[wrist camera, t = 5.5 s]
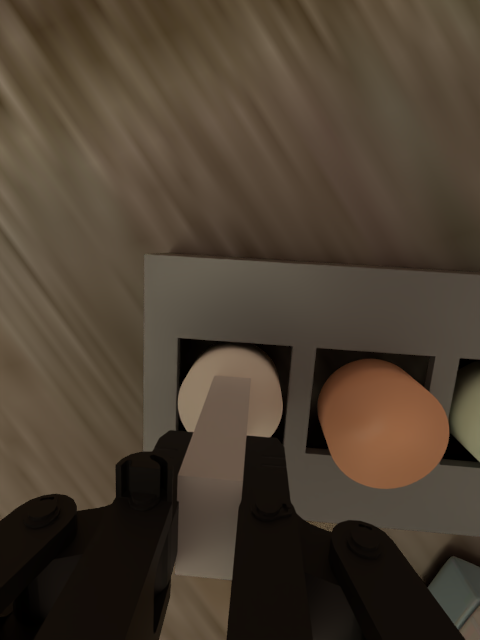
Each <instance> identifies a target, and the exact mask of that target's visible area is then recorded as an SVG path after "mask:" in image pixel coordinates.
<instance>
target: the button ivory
mask: <svg viewBox="0 0 480 640" xmlns="http://www.w3.org/2000/svg"><path fill="white" fill-rule="evenodd" d="M214 375H215V376H228V377H241V378H251V383H250V398H249V412H248V427H247V436H259V437H271V436H272V435H273V434H274V432H275V431H276V429H277V427H278V425H279V423H280V420H281V417H282V410H283V402H282V395H281V388H280V381H279V375H278V371H277V368H276V366H275V364H274V362H273V361H272V359H271V358H270V357H269V355H268V354H266V353H265V352H264V351H263V350H262V349H261V348H259V347H257V346H256V345H254V344H251V343H242V342H228V341H222V342H218V343H216V344H213V345H211V346H210V347H208V348H207V349H205V350H204V351H203V352H202V353H201V354H200V355H199V356H198V357H197V359H196V360H195V362H194V364H193V366H192V367H191V369H190V371H189V372H188V374H187V376H186V378H185V379H184V381H183V383H182V385H181V388H180V391H179V395H178V410H179V415H180V418H181V421H182V423H183V425H184V427H185V429H186V430H187V432H194V430H195V427H196V424H197V422H198V419H199V416H200V413H201V411H202V408H203V405H204V402H205V400H206V397H207V394H208V392H209V389H210V386H211V383H212V381H213V378H214Z"/></svg>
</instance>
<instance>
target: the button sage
mask: <svg viewBox="0 0 480 640" xmlns="http://www.w3.org/2000/svg"><path fill="white" fill-rule="evenodd" d="M448 423H449V432H450V433H451V434H452V435H453V436H454V437H455V438H456V439H457V440H458V441H459V442H460V443H461V444H462V445H463V446H464V447H465V448H466V449H467V450H468V451H469V452H470V453H471V454H472V455H473V456H474V457H475V458H476V459H477V460H478V461H479V462H480V360H478V361H475V362H472V363H470V364H468V365H466V366H464V367H462V368H461V369H459V370H458V371H457V376H456V381H455V386H454V392H453V397H452V402H451V407H450V413H449V418H448Z"/></svg>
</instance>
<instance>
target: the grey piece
mask: <svg viewBox="0 0 480 640" xmlns="http://www.w3.org/2000/svg"><path fill="white" fill-rule="evenodd" d="M181 338H186V339H200V340H214V341H228V342H242V343H256V344H270V345H284V346H292V348H291V359H290V370H289V381H288V392H287V403H286V414H285V425H284V436H283V446H284V448H285V457H286V465H287V467H286V468H287V474H288V483H289V491H290V500H291V503H292V504H293V506H294V508H295V511H296V513H297V514H298V515H299V516H300V517H301V518H302V519H303V520H305V521H315V522H326V523H337V524H338V523H340V522H343V521H347V520H357V521H363V522H366V523H369V524H372V525H374V526H375V527H380V528H391V529H402V530H412V531H423V532H434V533H445V534H456V535H466V536H477V537H480V462H472V461H460V460H448V459H441V460H440V462H439V463H438V464H437V466H436V467H435V468H434V469H433V470H432V471H431V472H430V473H429V474H427V475H426V476H425V477H423V478H422V479H420V480H418V481H416V482H414V483H412V484H410V485H407V486H403V487H399V488H392V489H379V488H372V487H368V486H365V485H362V484H360V483H357V482H356V481H354V480H352V479H351V478H349V477H348V476H346V475H345V474H344V473H343V472H342V471H341V470H340V469H339V467H338V466H337V465H336V463H335V462H334V460H333V458H332V456H331V453H330V451H329V449H317V448H306V441H307V432H308V422H309V413H310V403H311V394H312V384H313V375H314V365H315V356H316V348H325V349H339V350H353V351H367V352H381V353H395V354H409V355H423V356H429V362H428V368H427V374H426V380H425V385H424V388H425V389H426V390H427V391H429V392H430V393H431V394H432V395H433V396H434V397H435V398H436V399H437V400H438V401H439V403H440V404H441V405H442V407H443V409H444V411H445V413H446V416H447V419H448V418H449V413H450V407H451V402H452V397H453V392H454V386H455V381H456V376H457V371H458V365H459V360H460V358H465V359H479V360H480V272H470V271H454V270H438V269H421V268H405V267H389V266H373V265H356V264H340V263H324V262H307V261H291V260H275V259H258V258H242V257H226V256H210V255H193V254H177V253H158V254H144V378H143V452H149V451H153V449H154V447H155V445H156V443H157V441H158V439H159V438H160V437H161V436H163V435H164V434H165V433H167V432H168V431H170V430H174V431H179V410H178V395H179V391H180V361H181Z"/></svg>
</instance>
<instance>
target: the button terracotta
mask: <svg viewBox="0 0 480 640" xmlns="http://www.w3.org/2000/svg"><path fill="white" fill-rule="evenodd" d="M317 412H318V418H319V421H320V424H321V427H322V430H323V433H324V436H325V439H326V442H327V445H328V448H329V451H330V453H331V456H332V458H333V460H334V462H335V463H336V465H337V466H338V467H339V469H340V470H341V471H342V472H343V473H344V474H345V475H346V476H348V477H349V478H351V479H352V480H354V481H356V482H357V483H360V484H362V485H365V486H368V487H372V488H379V489H392V488H399V487H403V486H407V485H410V484H412V483H414V482H416V481H418V480H420V479H422V478H423V477H425V476H426V475H427V474H429V473H430V472H431V471H432V470H433V469H434V468H435V467H436V466H437V464H438V463H439V462H440V460H441V459H442V457H443V455H444V453H445V451H446V448H447V445H448V441H449V423H448V419H447V416H446V413H445V411H444V409H443V407H442V405H441V404H440V403H439V401H438V400H437V399H436V398H435V397H434V396H433V395H432V394H431V393H430V392H429V391H427V390H426V389H425V388H424V387H423V386H422V385H420V384H419V383H418V382H417V381H416V380H415V379H413V378H412V377H411V376H410V375H409V374H407V373H406V372H405V371H404V370H403V369H401V368H400V367H398V366H397V365H395V364H393V363H390V362H388V361H384V360H379V359H361V360H357V361H353V362H351V363H348V364H346V365H344V366H342V367H340V368H339V369H338V370H336V371H335V372H334V373H333V374H332V375H331V376H330V377H329V378H328V379H327V380H326V382H325V383H324V385H323V387H322V389H321V391H320V394H319V397H318V403H317Z"/></svg>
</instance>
